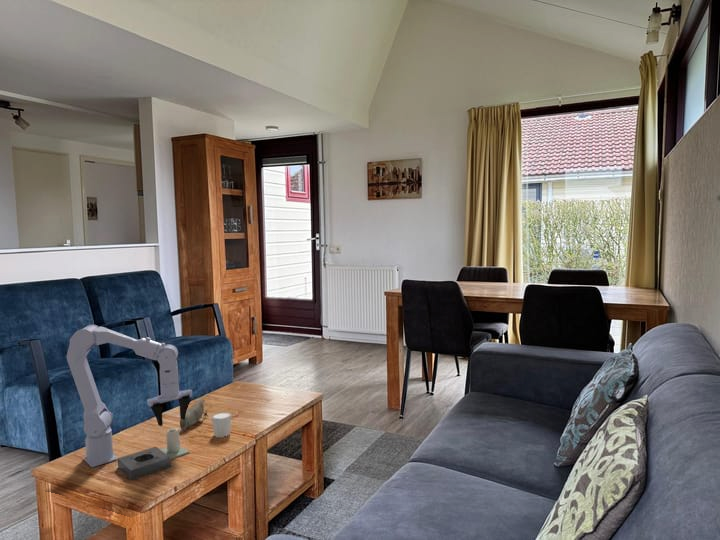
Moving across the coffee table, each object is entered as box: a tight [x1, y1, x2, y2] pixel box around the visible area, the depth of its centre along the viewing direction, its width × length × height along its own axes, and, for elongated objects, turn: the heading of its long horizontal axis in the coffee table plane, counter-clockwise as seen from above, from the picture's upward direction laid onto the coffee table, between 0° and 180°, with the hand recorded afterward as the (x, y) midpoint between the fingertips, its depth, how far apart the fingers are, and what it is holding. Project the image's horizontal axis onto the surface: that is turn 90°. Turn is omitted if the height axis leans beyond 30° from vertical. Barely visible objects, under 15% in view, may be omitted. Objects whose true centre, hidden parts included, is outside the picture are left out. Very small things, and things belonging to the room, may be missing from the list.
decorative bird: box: [179, 398, 209, 433], centre depth 194 cm, size 5×16×8 cm, turn 169°
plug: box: [166, 427, 181, 454], centre depth 168 cm, size 4×4×7 cm
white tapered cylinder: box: [211, 412, 232, 438], centre depth 183 cm, size 7×7×7 cm
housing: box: [117, 446, 172, 481], centre depth 158 cm, size 12×12×3 cm
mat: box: [159, 445, 191, 460], centre depth 168 cm, size 9×7×1 cm
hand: (171, 421), depth 168 cm, fingers open, 7 cm apart
